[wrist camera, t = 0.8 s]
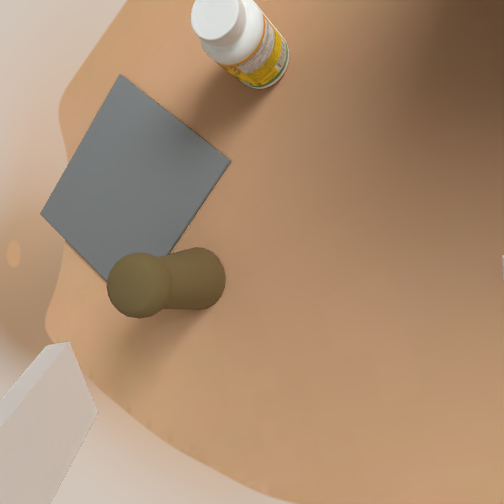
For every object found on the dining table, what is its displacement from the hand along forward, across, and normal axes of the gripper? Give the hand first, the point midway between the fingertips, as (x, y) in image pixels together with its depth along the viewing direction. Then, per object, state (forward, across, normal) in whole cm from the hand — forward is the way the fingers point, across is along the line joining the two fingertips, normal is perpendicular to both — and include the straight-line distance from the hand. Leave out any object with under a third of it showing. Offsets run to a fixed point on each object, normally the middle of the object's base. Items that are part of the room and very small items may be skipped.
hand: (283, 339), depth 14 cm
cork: (+30, -10, -9) cm, 33 cm away
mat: (+36, -16, 0) cm, 39 cm away
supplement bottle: (+34, +1, +9) cm, 36 cm away
